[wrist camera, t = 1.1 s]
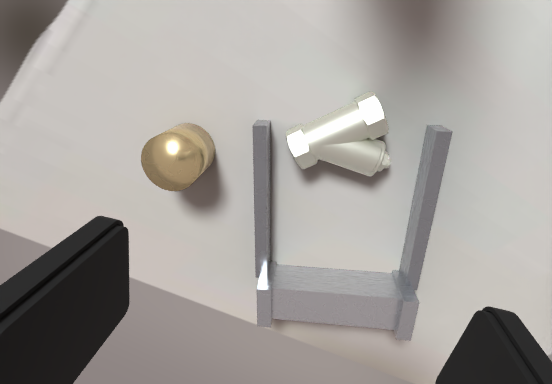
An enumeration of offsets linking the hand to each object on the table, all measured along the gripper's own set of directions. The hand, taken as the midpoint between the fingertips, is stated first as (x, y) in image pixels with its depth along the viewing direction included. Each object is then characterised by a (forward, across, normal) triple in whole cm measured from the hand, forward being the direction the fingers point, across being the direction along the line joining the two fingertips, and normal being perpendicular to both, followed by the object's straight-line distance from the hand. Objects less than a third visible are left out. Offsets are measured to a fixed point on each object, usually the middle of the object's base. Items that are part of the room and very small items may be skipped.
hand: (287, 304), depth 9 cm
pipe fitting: (+24, -3, +1) cm, 24 cm away
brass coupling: (+23, +11, +4) cm, 26 cm away
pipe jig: (+23, -5, +9) cm, 25 cm away
